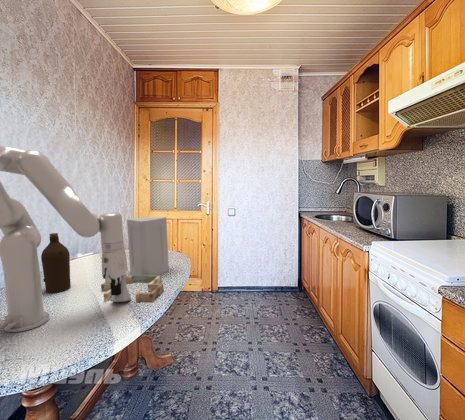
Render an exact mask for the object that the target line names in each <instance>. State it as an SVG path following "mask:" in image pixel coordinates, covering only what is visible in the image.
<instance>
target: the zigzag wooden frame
mask: <svg viewBox="0 0 465 420" xmlns="http://www.w3.org/2000/svg"><path fill="white" fill-rule="evenodd" d="M112 280H113V279H112ZM125 281H126V285H128V284H130V285H131V284H133V283H148V284H147V292H137V293H136V294H135V303H140V302H144V301H146V302H148V303H149V302H150V303H151V302H154V301H155V300H156V299H157V298H158V297H159V296H160V295H161V294H163V292H164V290H165V289H164V283H162V274H160V275H132V274H130V275H129V276H127V275H126V276H125ZM100 287H101V288H100V291H101V292H102V291H107V292H104V293H103V302H108V301H109V300H108V299H110V298H111V297H112V295H111V286H110V285H109V284H108V283H105V282H103V283H102V284H100ZM107 300H108V301H107ZM110 300H111V299H110ZM139 301H140V302H139ZM146 302H145V303H146Z"/></svg>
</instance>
